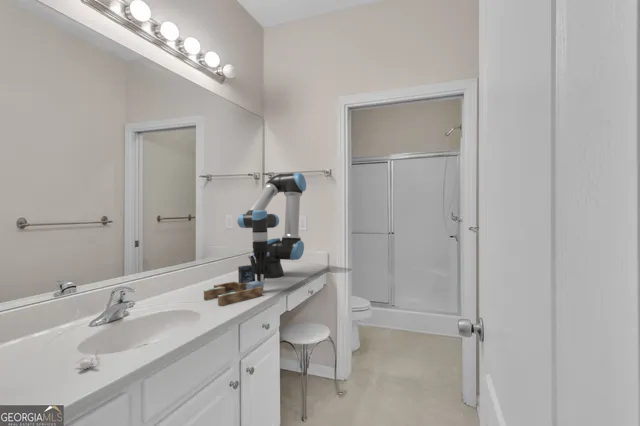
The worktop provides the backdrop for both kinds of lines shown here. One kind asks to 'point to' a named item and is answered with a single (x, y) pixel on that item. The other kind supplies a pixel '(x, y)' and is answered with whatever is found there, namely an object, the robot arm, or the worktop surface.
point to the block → (254, 285)
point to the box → (246, 274)
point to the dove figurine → (89, 360)
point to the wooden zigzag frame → (231, 293)
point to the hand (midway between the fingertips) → (261, 287)
